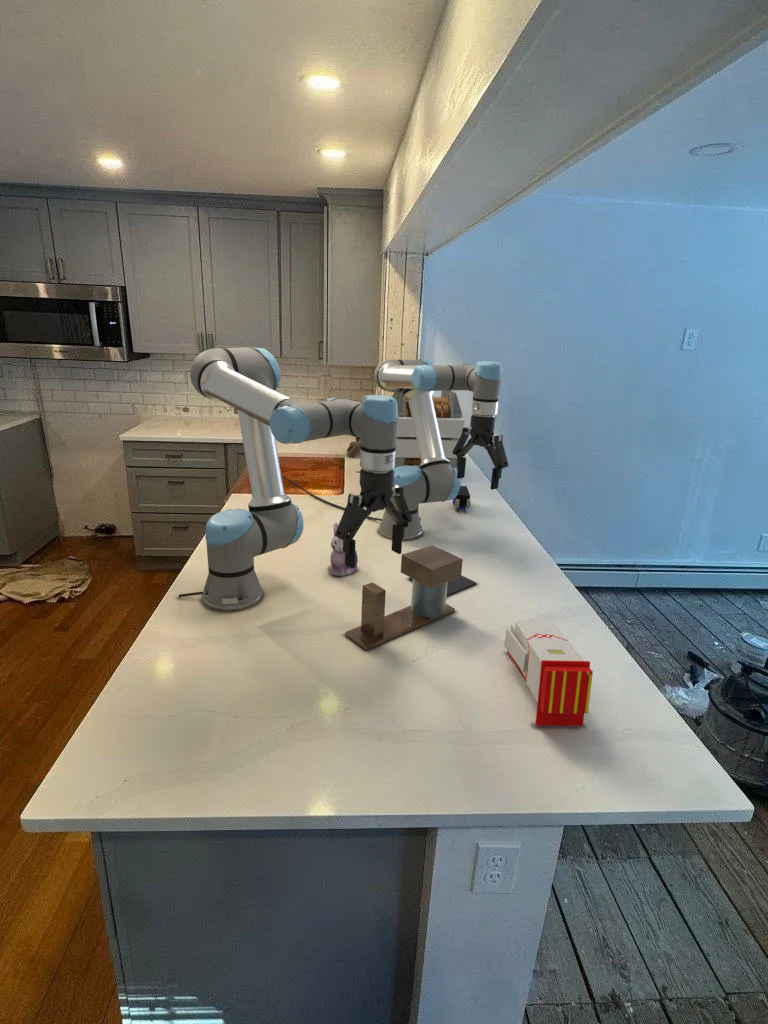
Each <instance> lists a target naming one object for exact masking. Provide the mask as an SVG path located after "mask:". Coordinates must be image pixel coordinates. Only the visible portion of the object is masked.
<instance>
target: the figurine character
mask: <svg viewBox="0 0 768 1024" xmlns="http://www.w3.org/2000/svg"><path fill="white" fill-rule="evenodd" d="M471 501H472V500H471V494H470V491H469V488H468V486H467V485H460V489H459V492H458V495H457V496H456V497H455V498H454V499H452V500H451V503H452V504H453V507H454V508H456V511H457V512H460V510H463V511H464V513H466V512H467V509H470V508H471V505H472V504H471ZM466 508H467V509H466Z"/></svg>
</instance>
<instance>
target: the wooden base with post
mask: <svg viewBox="0 0 768 1024" xmlns="http://www.w3.org/2000/svg"><path fill="white" fill-rule="evenodd" d="M447 586H448V582H446V583H444V584H441V585H438V586H436V587H433V588H429V587H427V586H425V585H424V584H422V583H420V582H418V581H416V580H414V579H413V581H412V586H411V598H410V599H411V601H410V605H408V606H407V607H404V608H402V609H399V610H396V611H394V612H391V613H389V614H387V615H386V614H385V613H386V596H387V595H386V593H387V590H386V589H385V588H383V587H381V586H379V585H378V584H376V583H374V582H373V581H372V582H369V583H366V584H363V585H362V586H361V587H362V589H361V591H362V592H361V618H360V619H361V620H360V621H361V622H360V626H357V627H354V628H352V629H349V630H347V631H345V636H346V637H347V638H349V639H350V640H351V641H353V642H354V643H355V644H357V645H358V646H359V647H361V648H362V649H364V650H365V651H368V650H371V649H372V648H374V647H377V646H379V645H382V644H384V643H386V642H388V641H390V640H393V639H395V638H398V637H400V636H403V635H404V634H406V633H407V634H408V633H410V632H411V631H413V630H416V629H418V628H421V627H423V626H425V625H427V624H430V623H432V622H434V621H437V620H439V619H441V618H443V617H446V616H448V615H451V614H453V613H454V612H455V607H453V606H452V605H449V604H448V603H447V597H448V596H447Z"/></svg>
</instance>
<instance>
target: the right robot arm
mask: <svg viewBox="0 0 768 1024" xmlns="http://www.w3.org/2000/svg"><path fill="white" fill-rule="evenodd" d="M502 367H503V366H502V364H501V363H500V362H498V361H489V360H478V361H477V362H476V364H475V365H473V364H470V363H460V364H434V363H433V362H432V361H430V360H428V359H421V358H417V359H395V358H394V359H386V360H385V361H382V362H380V363H379V364H378V365H377V366H376V368H375V370H374V373H373V378H374V382H375V384H376V386H377V387H378V388H379V389H380V390H383V391H384V392H388V393H394V392H402V393H403V397H404V400H406V401H408V402H409V406H410V411H411V415H412V420H413V425H414V430H415V435H416V440H417V444H418V449H419V454H420V459H421V464H420V466H407V465H404V466H399V467H395V468H394V469H393V470H394V472H395V475H394V484H395V485H398V486H401V487H403V493H404V498H405V501H406V504H407V506H408V509H409V512H410V514H411V517H412V521H411V522H410V523H409V522H408V527H407V528H405V529H404V538H403V539H402V541H410V540H415V539H418V538H420V537H421V536H422V535H423V525H422V524H421V522H422V519H421V517H420V515H419V507H420V506H419V505H420V504H429V503H431V504H432V503H439V502H440V503H444V502H448V501H453V499H454V498H455V497H456V496H457V495H458V492H459V489H460V486H461V480H462V479H464V478H465V476H466V475H465V473H466V466H467V465H466V464H467V457H466V455H467V454H468V453H469V452H470V451H471V449H472V448H473V447H474V446H478V447H482V448H484V449H485V450H486V452H487V454H488V456H489V458H490V460H491V462H492V464H493V466H494V467H492V471H491V477H490V478H491V482H490V487H489V488H490V490H493V491H494V490H496V489H499V484H500V480H501V479H502V472H503V469H506V468H508V467H509V466H510V465H509V462H508V457H507V453H506V449H505V446H504V443H503V442H504V440H503V439H504V436H503V434H502V433H501V434H495V429H496V425H497V415H498V409H499V399H500V390H501V381H502V369H503V368H502ZM443 390H446V391H469V392H472V404H471V416H470V422H469V426H464V428H463V429H462V434H461V436H460V438H459V440H458V442H457V444H456V446H455V448H454V450H453V452H452V453H453V454H455V455H456V456H457V467H458V470H457V469H456V468H454V467H452V468H451V464H450V461H449V460H448V459H446V458H445V456H444V452H443V447H442V443H441V438H440V433H439V429H438V424H437V419H436V415H435V410H434V405H433V401H432V397H434V394H435V392H438V391H441V392H442V391H443ZM469 437H470V438H469ZM281 476H282V479H284V480H285V481H286V482H287V481H288V482H289V483H291V484H292V485H294V486H295V487H297V488H298V489H300V490H302V491H303V492H305V493H306V494H308V495H309V496H311V497H313V498H315V499H317V500H319V501H321V502H323V503H325V504H328V505H330V506H333V507H335V508H338V509H341V510H343V511H345V508H346V507H343V506H340V505H338V504H336V503H333V502H330V501H327V500H325V499H323V498H321V497H319V496H317V495H315V494H313V493H311V492H309V491H308V490H306V489H305V488H304V487H302V486H300V485H299V484H297V483H296V482H294V481H293V480H291V479H289V478H287V477H285V475H284V476H283V475H281ZM390 500H391V502H392V503H393V504H394V507H395V508H396V510H397V511H398V512H399V510H398V508H397V505H396V503H395V500H394V497H393V495H392V497H391V499H390ZM399 514H400V513H399ZM366 519H369V520H374V521H379V527H378V533H379V534H380V535H381V536H382V537H385V538H387V539H389V540H392V531H393V525H394V524H396V525H397V523H396V522H395V521H394V520H393V519H392V517H391V516H390V515H389V513H388V512H387V511H386V510H385V509H384V513H383V515H382V518H380V517H379V518H378V517H373V516H370V515H369V516H367V517H366Z"/></svg>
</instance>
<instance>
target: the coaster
mask: <svg viewBox="0 0 768 1024" xmlns="http://www.w3.org/2000/svg"><path fill="white" fill-rule="evenodd" d="M408 580H409V581H411V582H413V579H412V578H410V577H408ZM476 585H477V582H476V581H474V580H472V579H471V578H468V577H466V576H464V575H462V574H461V577H459V578H456V579H454V580H451V581H449V582H448V586H447V597H449V596H453V595H454V594H456V593H459V592H461V591H463V590H466V589H468V588H471V587H473V586H476Z"/></svg>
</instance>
